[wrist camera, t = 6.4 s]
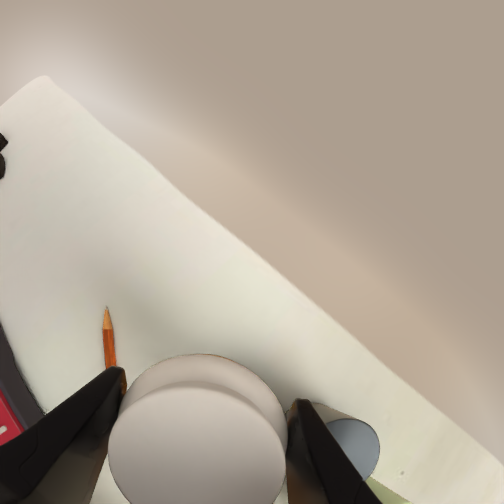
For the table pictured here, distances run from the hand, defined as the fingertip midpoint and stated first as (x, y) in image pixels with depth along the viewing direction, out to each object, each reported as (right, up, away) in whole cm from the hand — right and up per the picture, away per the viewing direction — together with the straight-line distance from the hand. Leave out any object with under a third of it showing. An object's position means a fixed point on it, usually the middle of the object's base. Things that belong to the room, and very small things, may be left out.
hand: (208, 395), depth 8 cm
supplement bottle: (-1, -4, +6) cm, 7 cm away
